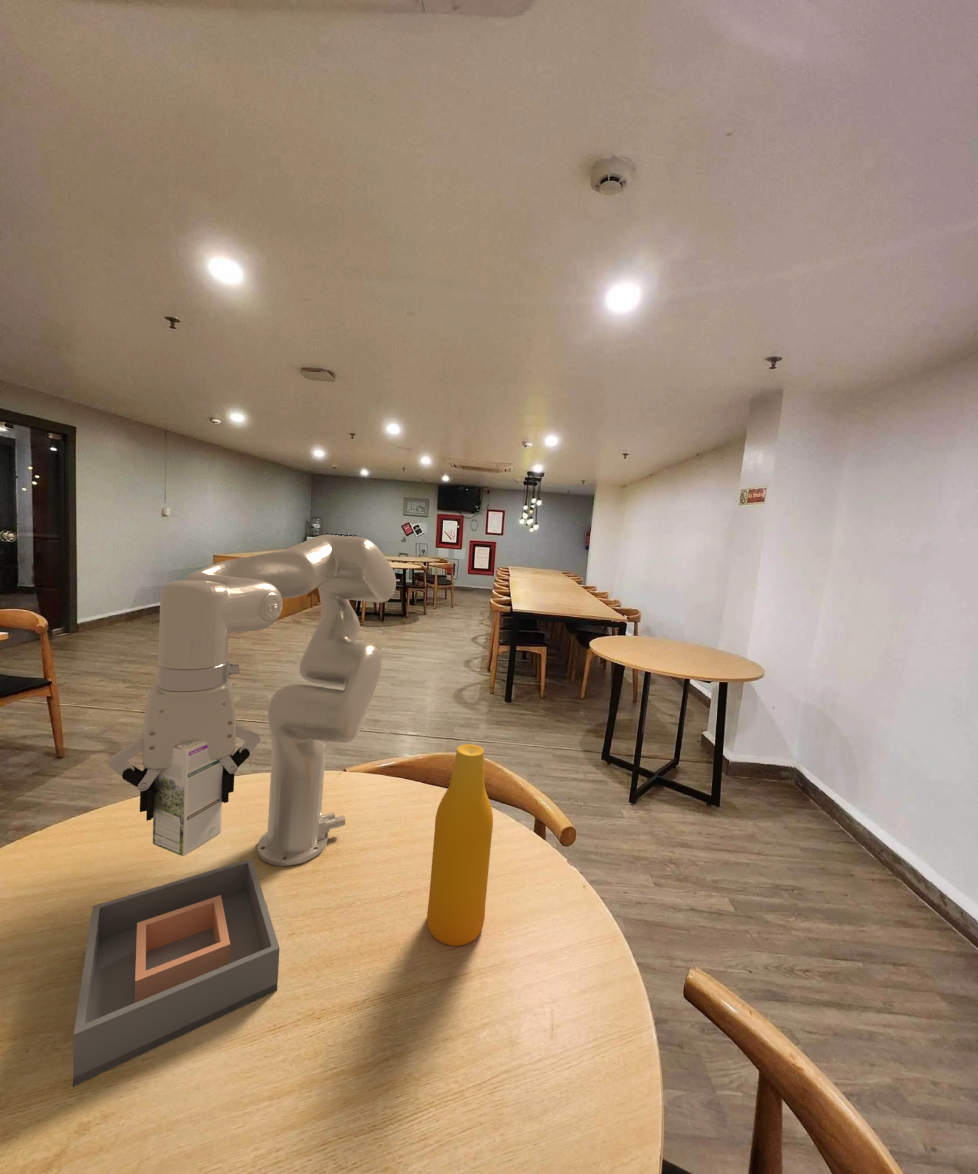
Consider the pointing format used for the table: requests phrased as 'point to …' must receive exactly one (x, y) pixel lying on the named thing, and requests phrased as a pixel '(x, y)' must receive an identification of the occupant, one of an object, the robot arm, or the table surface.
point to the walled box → (171, 964)
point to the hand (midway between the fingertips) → (188, 805)
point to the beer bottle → (461, 853)
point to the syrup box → (188, 800)
